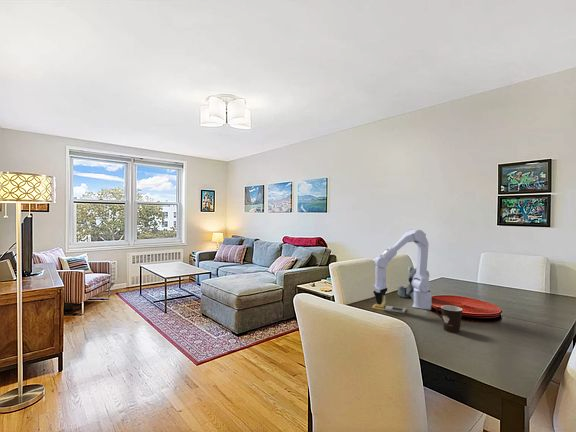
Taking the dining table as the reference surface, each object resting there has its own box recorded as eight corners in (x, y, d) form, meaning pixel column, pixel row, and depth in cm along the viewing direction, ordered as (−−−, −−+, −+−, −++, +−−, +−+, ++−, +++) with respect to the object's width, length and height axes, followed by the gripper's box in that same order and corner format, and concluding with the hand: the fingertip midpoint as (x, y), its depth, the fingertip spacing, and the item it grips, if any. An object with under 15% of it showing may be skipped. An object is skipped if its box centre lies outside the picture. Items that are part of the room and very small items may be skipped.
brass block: (385, 307, 172) (385, 295, 172) (383, 309, 168) (383, 296, 168) (378, 306, 174) (378, 294, 174) (376, 308, 170) (376, 295, 170)
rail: (405, 309, 168) (405, 308, 168) (404, 313, 162) (404, 311, 162) (374, 305, 176) (374, 303, 176) (371, 308, 170) (371, 306, 170)
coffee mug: (466, 333, 134) (466, 311, 134) (446, 333, 134) (446, 311, 134) (452, 324, 145) (452, 303, 145) (434, 324, 146) (434, 303, 146)
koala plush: (395, 296, 196) (395, 265, 196) (415, 293, 203) (416, 264, 203) (417, 303, 180) (417, 270, 180) (438, 300, 188) (438, 268, 188)
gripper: (376, 275, 179) (376, 298, 179) (370, 279, 167) (370, 304, 167) (388, 276, 176) (388, 300, 176) (383, 281, 163) (383, 306, 163)
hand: (380, 302), depth 171 cm, fingers open, 7 cm apart
